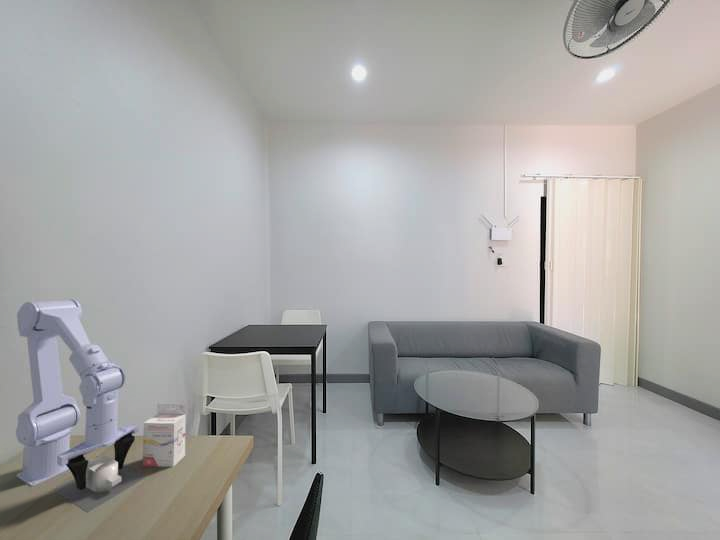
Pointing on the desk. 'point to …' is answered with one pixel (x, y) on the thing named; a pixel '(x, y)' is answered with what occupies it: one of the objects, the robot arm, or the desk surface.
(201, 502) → the desk surface
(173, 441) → the ink cartridge box
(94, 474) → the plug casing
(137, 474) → the desk mat
